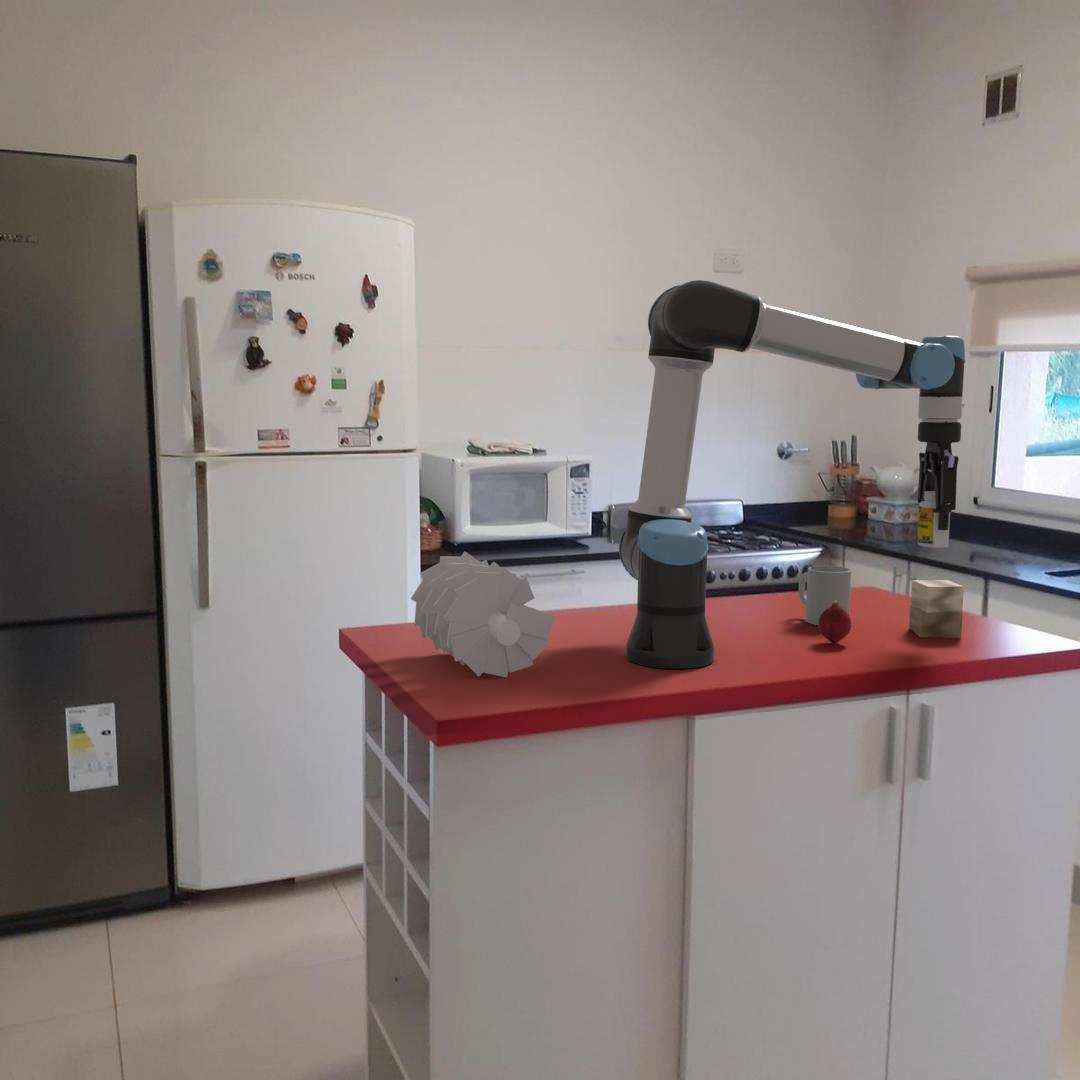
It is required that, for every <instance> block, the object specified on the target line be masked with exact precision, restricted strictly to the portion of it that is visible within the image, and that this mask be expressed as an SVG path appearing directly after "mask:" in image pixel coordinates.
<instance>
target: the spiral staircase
mask: <svg viewBox="0 0 1080 1080" xmlns="http://www.w3.org/2000/svg"><path fill="white" fill-rule="evenodd" d="M419 574H420V576H421V579H422V581H421V582H420V584H419V585H418V587H417V588H416V590H415V591H414V593H413V594H412V595H411V597H410V599H411V601H413V602H415V612H414V626H418V627H419V631H420V635H421V638H422V639H427V638H430V640H431V641H432V644H433V647H434V650H439V649H441V650H442V651H443V652H444V653H445V652H446V653H448V654H449V655H450V656H452V657H453V659H454V662H459V663H460V664H461V666H464V665H467V667H468V668H469V669H471V671H472V672H473V673H474V674H475V675H477V677H480V676H481V675H482V674H483V673H484V674H489V675H494V676H497V677H503V678H507V677H508V674H510V673H514V672H516V671H519V670H522V669H525V668H528V667H531V666H533V665H534V663H533V660H535V659H536V658H537V657H538V656H539V654H541V653H542V651H544V650H545V648H546V647H547V646H548V645H549V644H550V643H551V641H550V640H549V636H550V633H551V629H552V628H553V627H552V626H553V623H554V620H555V617H556V614H554V613H550V612H547V611H546V612H545V611H542V610H539V609H536V608H534V607H531V606H527V605H525V604H527V603H529V602H530V601H532V600H534V599H535V596H534V593H533V590H532V588H531V586H530V583H529V581H528V578H527V577H526V576H523V577H522V578H519V577H518V576H517V574H516V573H515V572H513V573H512V572H511V571H509V570H508V569H507V568H505V567H503V566H500V565H499V564H498V563H497V562H495V561H493V562H491V564H490V565H489V563H488V560H487V559H484V560H483V561H482V560H479V559H477V558H475V557H474V556H472V555H471V554H470V553H468V552H466V551H464V552H463V553H462V554H461V556H450V555H449V556H448V555H447V556H446V555H445V556H443V555H442V556H441V555H440V557H439V562H438V563H437V564H435V565H432V566H431V567H429V568H427V569H426V570H423V571H422V572H420V573H419Z"/></svg>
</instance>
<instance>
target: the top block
mask: <svg viewBox="0 0 1080 1080" xmlns="http://www.w3.org/2000/svg"><path fill="white" fill-rule="evenodd" d="M911 585H912V586H911V598H910V599H911V600H910V605H911V606H913V607H915V608H917V609H920V610H922V611H924V612H926V613H956V612H961V613H963V610H964V609H963V606H964V590H965V586H963V585H961V584H958V583H956V582H953V581H951V580H948V579H926V580H925V579H922V580H921V579H915V580H913V579H912V582H911Z"/></svg>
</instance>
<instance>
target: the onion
mask: <svg viewBox="0 0 1080 1080" xmlns="http://www.w3.org/2000/svg"><path fill="white" fill-rule="evenodd" d="M818 629H819V631H820V633H821V635H822V636H823V637H824V638H825V639H826V640H828V641H829V642H830V643H831V644H833V643H836V644H838V643H839V642H840V641H841V640H843V639H844V638H845V637H846V636H848V635H849V634H850V632H851V629H852V618H851V616H850V614H849V615H848V613H847V612H846V611H845V610H844V609H843V608H842V607H840V605H839V602H838V601H833V604H832V606H830V607H829V608H827V609H826V610H825V611H824V612H823V613H822V614H821V616H820V619H819V626H818Z"/></svg>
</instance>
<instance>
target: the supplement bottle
mask: <svg viewBox="0 0 1080 1080" xmlns="http://www.w3.org/2000/svg"><path fill="white" fill-rule="evenodd" d="M924 500H925V501H922V502H920V503H918V504H919V505H918V506H919V507H918V518H917V519H918V522H917V538H916V539H917V540H916V541H917V542H916V543H917V544H918V545H919V546H921V547H924V548H934V547H932V542H933V520H934V513H933V512H932V510H933V509H936V497H935V491H925V492H924ZM950 522H951V521H950ZM950 522H949V528H950V526H951V525H950V524H951V523H950ZM939 548H942V547H939ZM939 548H938V549H939ZM934 549H935V548H934Z"/></svg>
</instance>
